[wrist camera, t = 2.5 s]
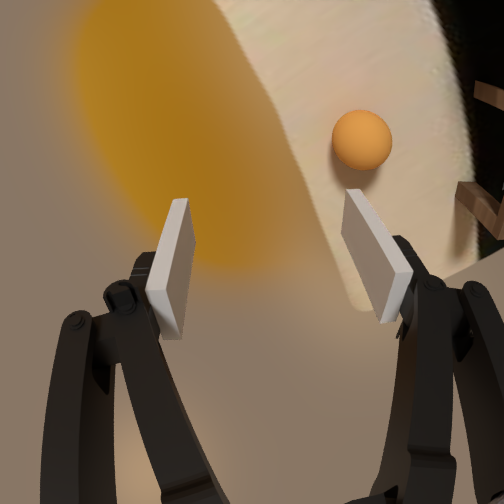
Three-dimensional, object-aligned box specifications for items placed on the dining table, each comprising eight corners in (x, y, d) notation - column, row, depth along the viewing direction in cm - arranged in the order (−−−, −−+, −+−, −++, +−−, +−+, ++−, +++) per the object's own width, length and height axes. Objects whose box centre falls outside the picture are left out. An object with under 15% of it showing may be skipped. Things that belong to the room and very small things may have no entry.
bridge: (455, 196, 33) (497, 240, 26) (475, 80, 25) (533, 103, 17) (472, 196, 33) (514, 238, 26) (493, 85, 25) (549, 109, 17)
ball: (326, 103, 27) (343, 117, 23) (380, 106, 27) (405, 121, 23) (324, 157, 30) (339, 180, 26) (375, 157, 30) (397, 180, 26)
